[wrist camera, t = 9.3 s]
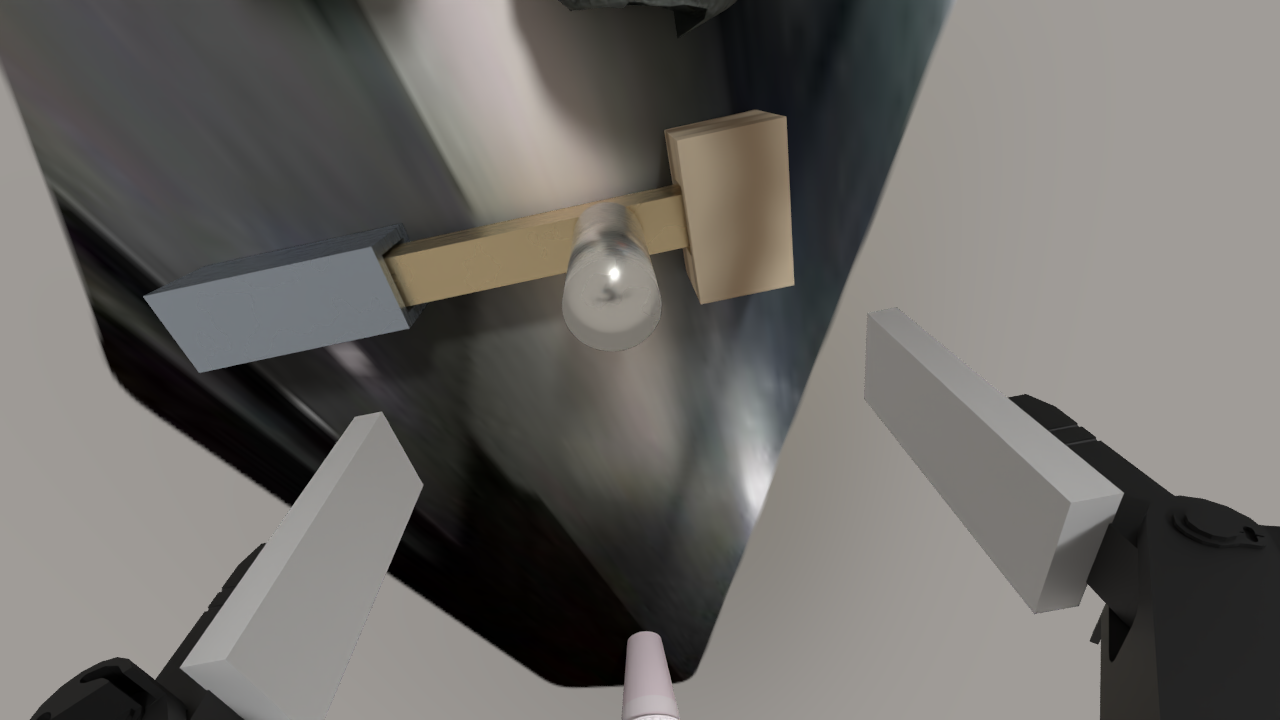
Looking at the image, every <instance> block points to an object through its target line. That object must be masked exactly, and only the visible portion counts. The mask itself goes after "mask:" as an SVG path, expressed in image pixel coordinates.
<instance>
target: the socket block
mask: <svg viewBox="0 0 1280 720" xmlns="http://www.w3.org/2000/svg"><path fill="white" fill-rule="evenodd" d="M664 133H665V139H666V146H667V152H668V158H669V165H670V171H671V177H672V184H673V185H674V184H679V185H680V186H681V190H682V197H683V204H684V210H685V217H686V224H687V230H688V237H689V244H690V246H689V247H685V248H683V254H684V260H685V266H686V272H687V274H688V276H689V279H690V281H691V283H692V286H693V288H694V290H695V292H696V295H697V297H698V299H699V301H700V304H706V303H711V302H715V301H720V300H725V299H730V298H735V297H739V296H744V295H749V294H754V293H758V292H763V291H768V290H773V289H778V288H782V287H787V286H792V285H794V270H793V248H792V227H791V205H790V184H789V162H788V141H787V119H786V116H781V115H777V114H773V113H768V112H764V111H759V110H751V111H747V112H742V113H738V114H733V115H729V116H724V117H720V118H715V119H711V120H706V121H702V122H697V123H693V124H688V125H684V126H679V127H674V128H670V129H665V130H664Z"/></svg>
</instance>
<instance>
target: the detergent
mask: <svg viewBox="0 0 1280 720" xmlns="http://www.w3.org/2000/svg"><path fill="white" fill-rule="evenodd" d="M558 1H560V2H561V3H562V4H563V5H565V6H566V7H567V8H568V9H569V10H571V11H572V10H584V9H591V8H601V7H615V8H623V7H624V6H626V5H650V6H660V7H664V8H667V9H670V10H672V11H674V18H675V24H676V31H677V37H678V38H679V37H681V36H683V35H684V34H686V33H688V32H689V31H691V30H693V29H694V28H696V27H698V26H699V25H701V24H703V23H704V22H706V21H708V20H709V19H711V18H713V17H715V16H716V15H718V14H720V13H721V12H723V11H725V10H726V9H728V8H729V7H730V6H731V5H733V4H734V3H735V2H736V1H737V0H558ZM640 2H642V3H640Z"/></svg>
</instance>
